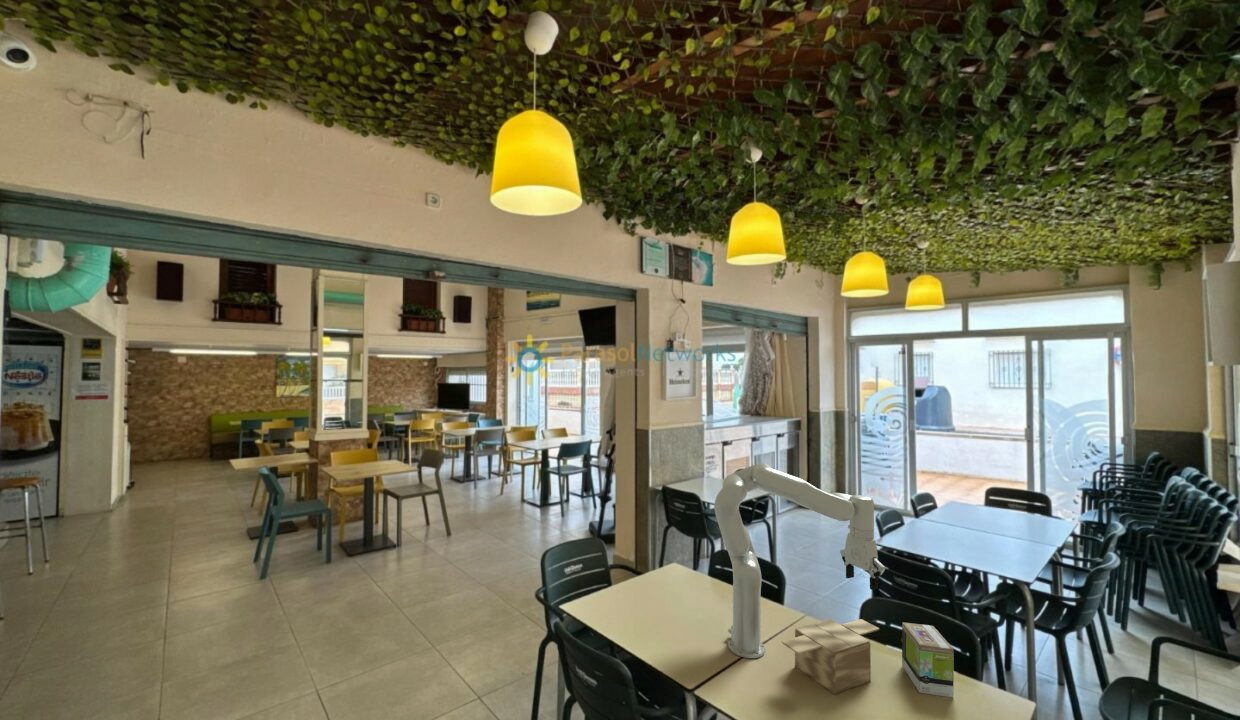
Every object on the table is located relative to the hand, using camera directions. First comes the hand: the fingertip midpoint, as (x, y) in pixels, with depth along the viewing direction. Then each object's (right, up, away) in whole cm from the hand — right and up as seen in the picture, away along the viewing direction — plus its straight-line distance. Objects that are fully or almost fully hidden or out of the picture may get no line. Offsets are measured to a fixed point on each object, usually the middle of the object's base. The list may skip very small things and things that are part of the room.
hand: (861, 583), depth 167 cm
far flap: (-6, -14, -4) cm, 16 cm away
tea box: (+15, -27, -11) cm, 33 cm away
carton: (-14, -26, -8) cm, 30 cm away
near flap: (-21, -13, -11) cm, 27 cm away
